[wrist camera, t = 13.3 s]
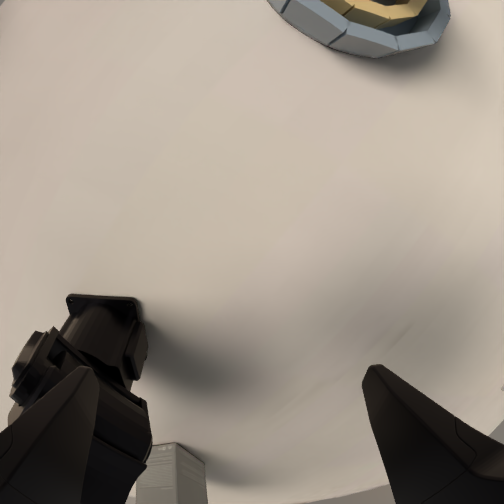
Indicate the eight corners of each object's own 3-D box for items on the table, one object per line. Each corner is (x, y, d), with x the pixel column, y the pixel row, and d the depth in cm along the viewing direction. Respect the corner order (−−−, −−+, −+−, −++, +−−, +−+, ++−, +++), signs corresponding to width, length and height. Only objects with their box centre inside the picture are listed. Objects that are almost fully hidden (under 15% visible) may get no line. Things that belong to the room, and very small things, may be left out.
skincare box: (137, 445, 30) (126, 544, 16) (182, 440, 30) (180, 550, 15) (170, 468, 34) (168, 554, 19) (211, 463, 33) (216, 556, 19)
